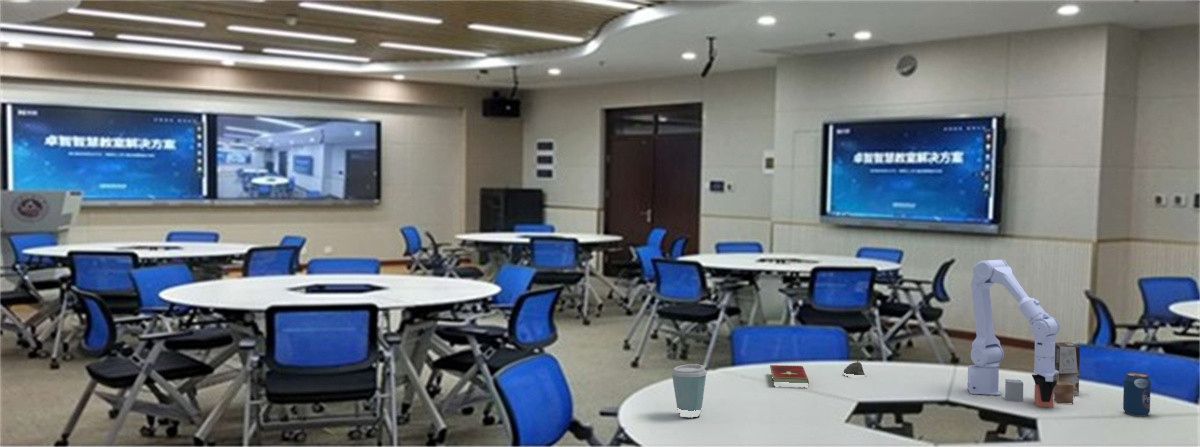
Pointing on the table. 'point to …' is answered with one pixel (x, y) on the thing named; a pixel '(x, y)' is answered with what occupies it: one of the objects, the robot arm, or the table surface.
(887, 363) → the table surface
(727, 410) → the table surface
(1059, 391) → the walnut block
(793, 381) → the hardcover book
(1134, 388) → the soda can
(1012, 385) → the grey block
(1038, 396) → the red block
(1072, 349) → the coffee box
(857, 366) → the sword in stone
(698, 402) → the disposable coffee cup
